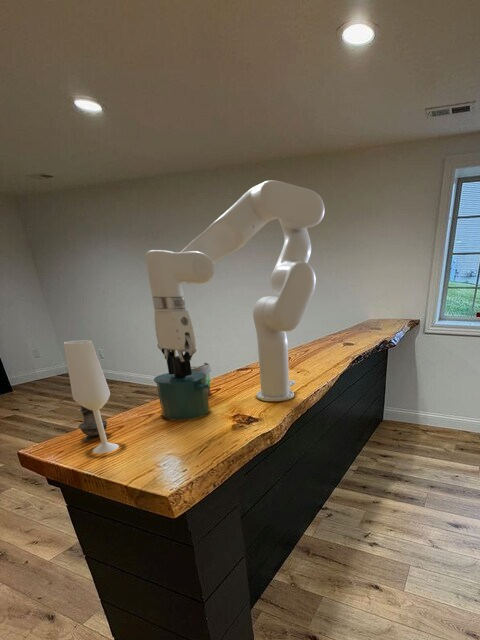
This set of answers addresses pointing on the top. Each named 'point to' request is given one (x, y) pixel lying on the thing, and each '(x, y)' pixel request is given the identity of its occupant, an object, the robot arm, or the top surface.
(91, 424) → the grey lumpy figure
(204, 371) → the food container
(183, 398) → the pot
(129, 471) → the top surface
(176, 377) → the lid
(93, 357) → the champagne flute
